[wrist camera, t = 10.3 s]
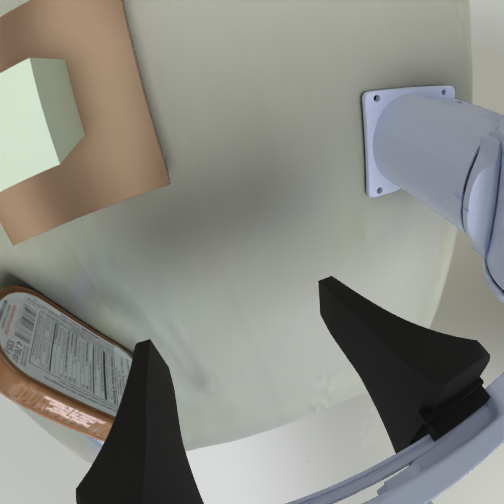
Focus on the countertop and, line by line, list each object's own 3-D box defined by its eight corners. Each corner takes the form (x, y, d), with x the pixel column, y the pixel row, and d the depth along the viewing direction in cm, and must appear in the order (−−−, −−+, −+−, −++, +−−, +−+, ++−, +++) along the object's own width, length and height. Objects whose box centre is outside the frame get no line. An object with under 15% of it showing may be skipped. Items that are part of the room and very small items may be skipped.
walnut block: (119, -20, 11) (113, -35, 9) (167, 166, 18) (170, 184, 16) (-33, 55, 10) (-58, 58, 8) (27, 221, 17) (13, 245, 15)
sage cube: (65, 59, 11) (29, 57, 7) (85, 134, 13) (60, 164, 9) (-4, 93, 10) (-56, 109, 6) (18, 163, 13) (-23, 204, 9)
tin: (-10, 284, 18) (-46, 373, 11) (7, 257, 17) (-34, 349, 11) (134, 374, 27) (143, 458, 20) (157, 358, 26) (171, 445, 19)
